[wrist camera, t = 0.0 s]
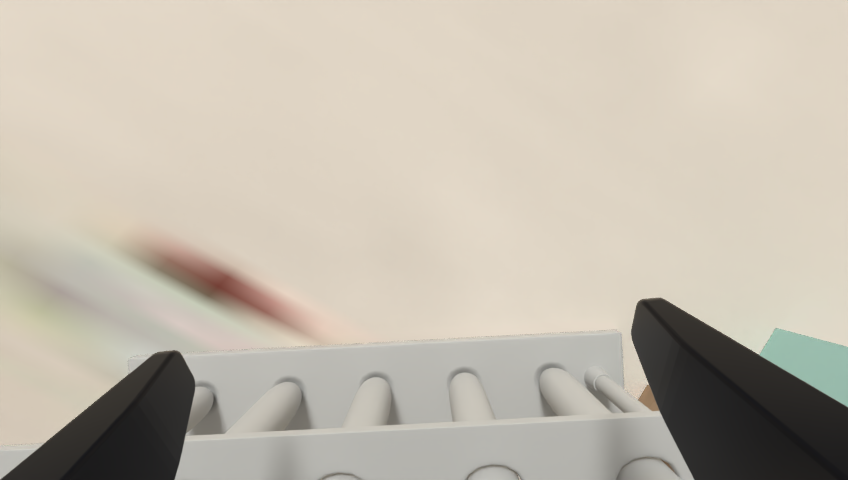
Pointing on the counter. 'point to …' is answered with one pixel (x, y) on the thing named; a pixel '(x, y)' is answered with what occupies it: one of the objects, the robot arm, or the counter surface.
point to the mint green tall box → (811, 361)
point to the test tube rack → (419, 413)
